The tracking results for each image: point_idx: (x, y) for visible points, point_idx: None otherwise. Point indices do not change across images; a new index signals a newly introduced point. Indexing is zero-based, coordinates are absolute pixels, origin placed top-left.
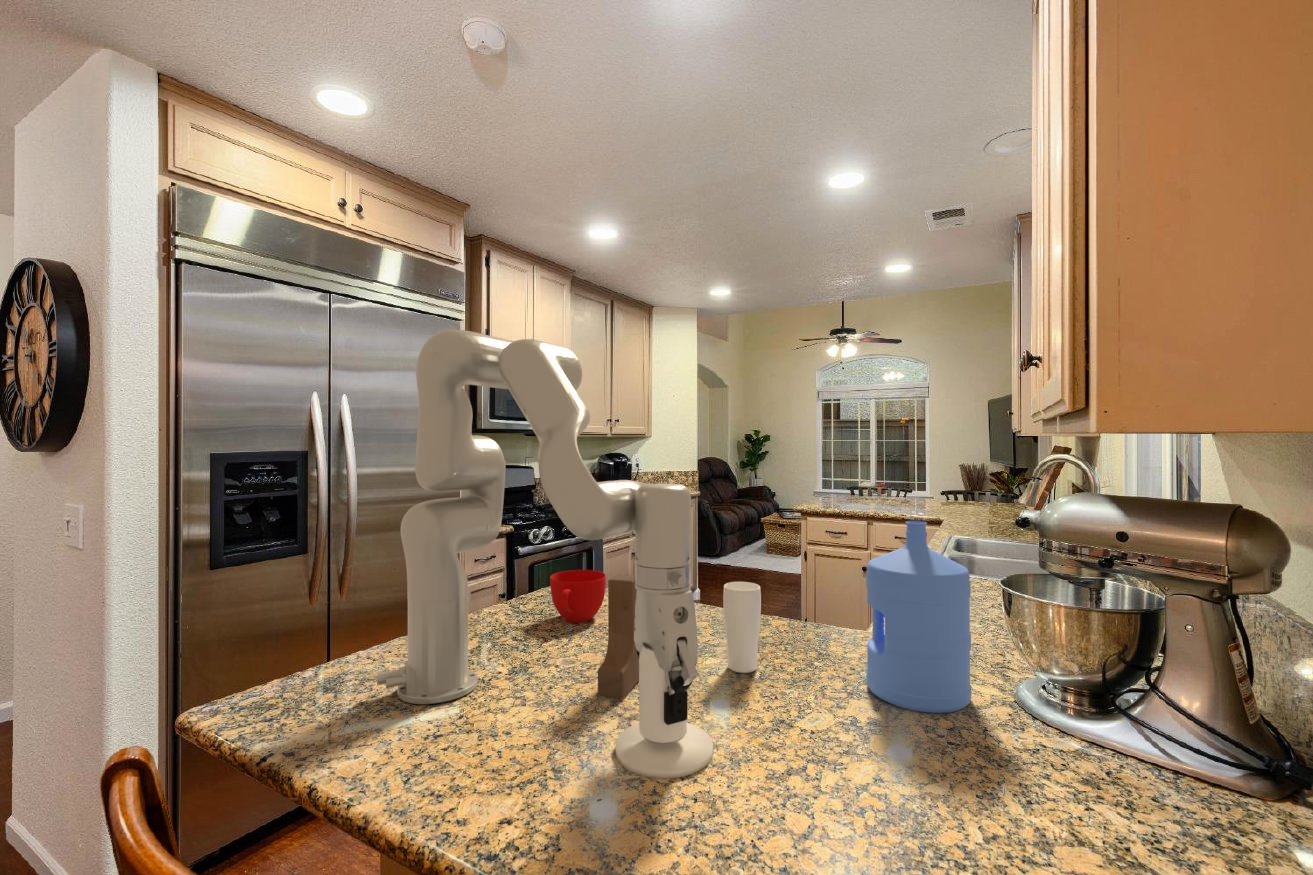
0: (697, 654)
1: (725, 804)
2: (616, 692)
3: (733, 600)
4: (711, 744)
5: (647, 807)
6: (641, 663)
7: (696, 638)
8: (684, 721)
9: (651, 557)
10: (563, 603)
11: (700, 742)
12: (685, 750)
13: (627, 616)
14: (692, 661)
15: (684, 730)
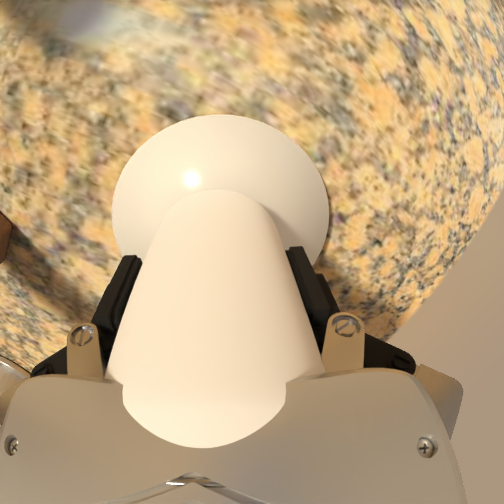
0: (439, 417)
1: (410, 210)
2: (4, 240)
3: None
4: (279, 135)
5: (347, 301)
6: None
7: (464, 492)
8: (277, 234)
9: None
10: None
11: (257, 154)
12: (271, 203)
13: None
14: (453, 424)
15: (273, 222)
